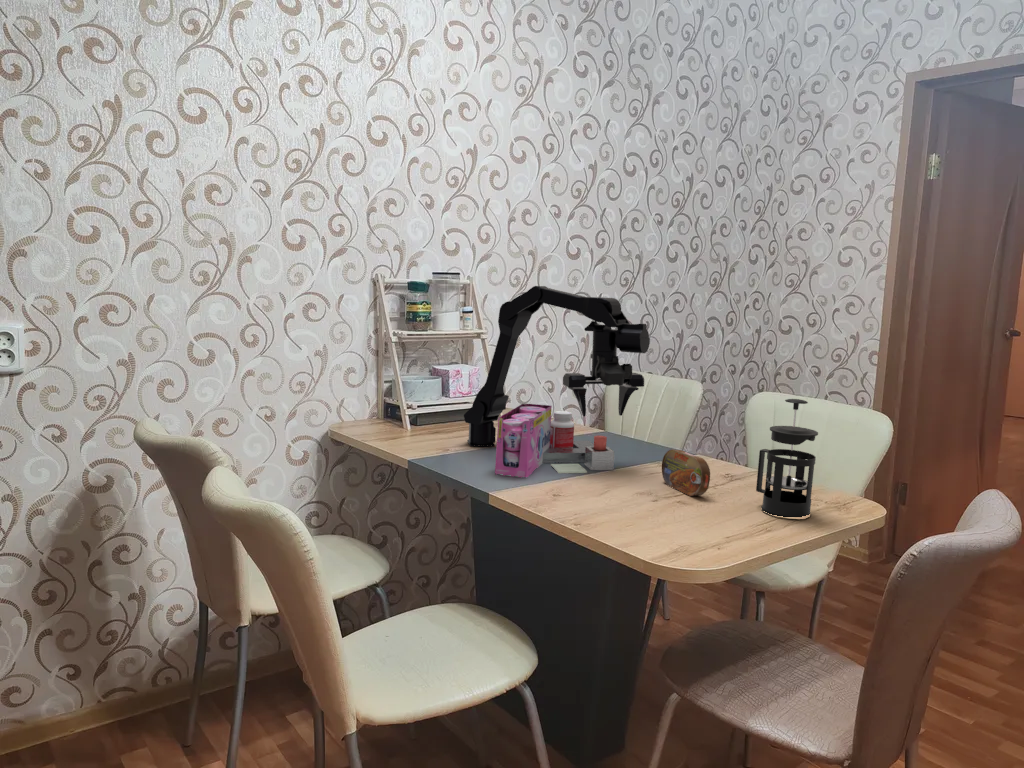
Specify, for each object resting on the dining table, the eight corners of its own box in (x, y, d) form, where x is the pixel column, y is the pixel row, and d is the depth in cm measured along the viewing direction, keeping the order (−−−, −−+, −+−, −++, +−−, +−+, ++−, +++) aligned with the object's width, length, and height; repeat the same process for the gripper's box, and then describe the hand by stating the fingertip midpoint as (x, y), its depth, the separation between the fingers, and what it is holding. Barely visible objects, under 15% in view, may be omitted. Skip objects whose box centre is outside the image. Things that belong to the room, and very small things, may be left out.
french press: (822, 515, 143) (834, 401, 140) (799, 524, 137) (811, 405, 134) (768, 500, 152) (778, 393, 148) (744, 508, 146) (754, 396, 142)
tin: (659, 481, 163) (661, 445, 162) (671, 480, 164) (673, 444, 163) (698, 501, 149) (701, 461, 148) (711, 500, 151) (714, 461, 149)
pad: (558, 473, 167) (558, 471, 167) (550, 465, 173) (550, 464, 173) (587, 472, 168) (587, 471, 168) (578, 465, 175) (578, 463, 175)
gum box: (525, 481, 160) (528, 421, 159) (492, 477, 163) (494, 418, 161) (550, 457, 183) (552, 405, 181) (520, 454, 185) (522, 402, 183)
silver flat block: (542, 463, 175) (542, 453, 175) (530, 450, 188) (530, 441, 188) (604, 462, 179) (605, 452, 178) (588, 450, 191) (589, 440, 191)
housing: (591, 470, 170) (592, 451, 170) (584, 464, 176) (585, 446, 175) (613, 470, 172) (614, 451, 171) (605, 464, 177) (606, 446, 176)
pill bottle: (577, 455, 185) (579, 413, 183) (561, 458, 181) (563, 415, 179) (559, 450, 189) (561, 409, 188) (543, 453, 185) (545, 411, 184)
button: (595, 450, 171) (596, 438, 171) (591, 447, 174) (592, 435, 174) (607, 450, 172) (608, 438, 171) (603, 447, 175) (604, 435, 174)
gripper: (577, 353, 160) (575, 422, 162) (655, 353, 164) (652, 420, 166) (563, 349, 171) (561, 414, 173) (636, 349, 175) (634, 412, 177)
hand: (602, 415), depth 172 cm, fingers open, 9 cm apart
